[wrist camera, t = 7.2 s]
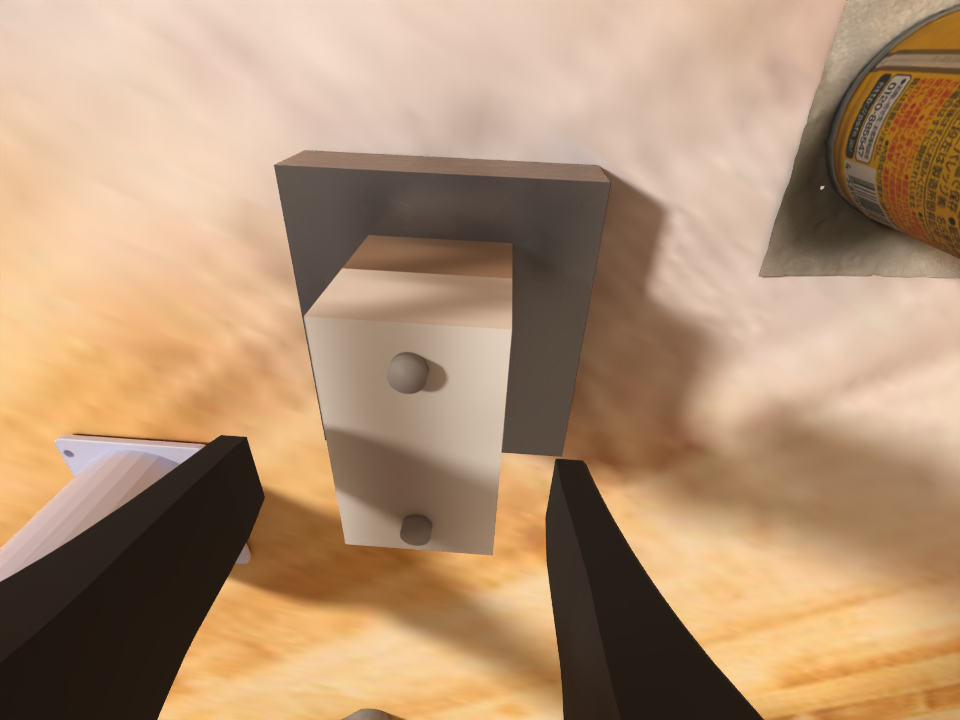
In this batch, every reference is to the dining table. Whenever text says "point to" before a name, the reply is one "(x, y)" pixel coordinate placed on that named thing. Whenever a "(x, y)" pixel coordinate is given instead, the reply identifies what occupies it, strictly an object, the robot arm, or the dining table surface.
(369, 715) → the hip flask
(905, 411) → the dining table surface
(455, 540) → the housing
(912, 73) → the condiment
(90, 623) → the robot arm
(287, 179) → the stand
